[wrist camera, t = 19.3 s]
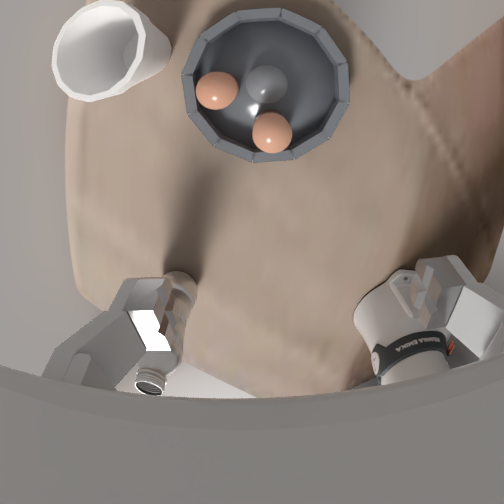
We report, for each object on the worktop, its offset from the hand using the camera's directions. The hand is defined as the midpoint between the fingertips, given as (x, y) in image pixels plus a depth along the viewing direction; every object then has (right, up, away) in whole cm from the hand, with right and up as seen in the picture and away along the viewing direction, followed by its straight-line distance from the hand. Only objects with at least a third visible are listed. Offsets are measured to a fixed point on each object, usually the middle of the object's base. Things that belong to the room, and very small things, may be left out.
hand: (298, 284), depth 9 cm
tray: (0, +20, +21) cm, 30 cm away
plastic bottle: (-13, -4, +38) cm, 41 cm away
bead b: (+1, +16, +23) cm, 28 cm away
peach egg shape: (-5, +19, +21) cm, 29 cm away
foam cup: (-14, +25, +19) cm, 34 cm away
